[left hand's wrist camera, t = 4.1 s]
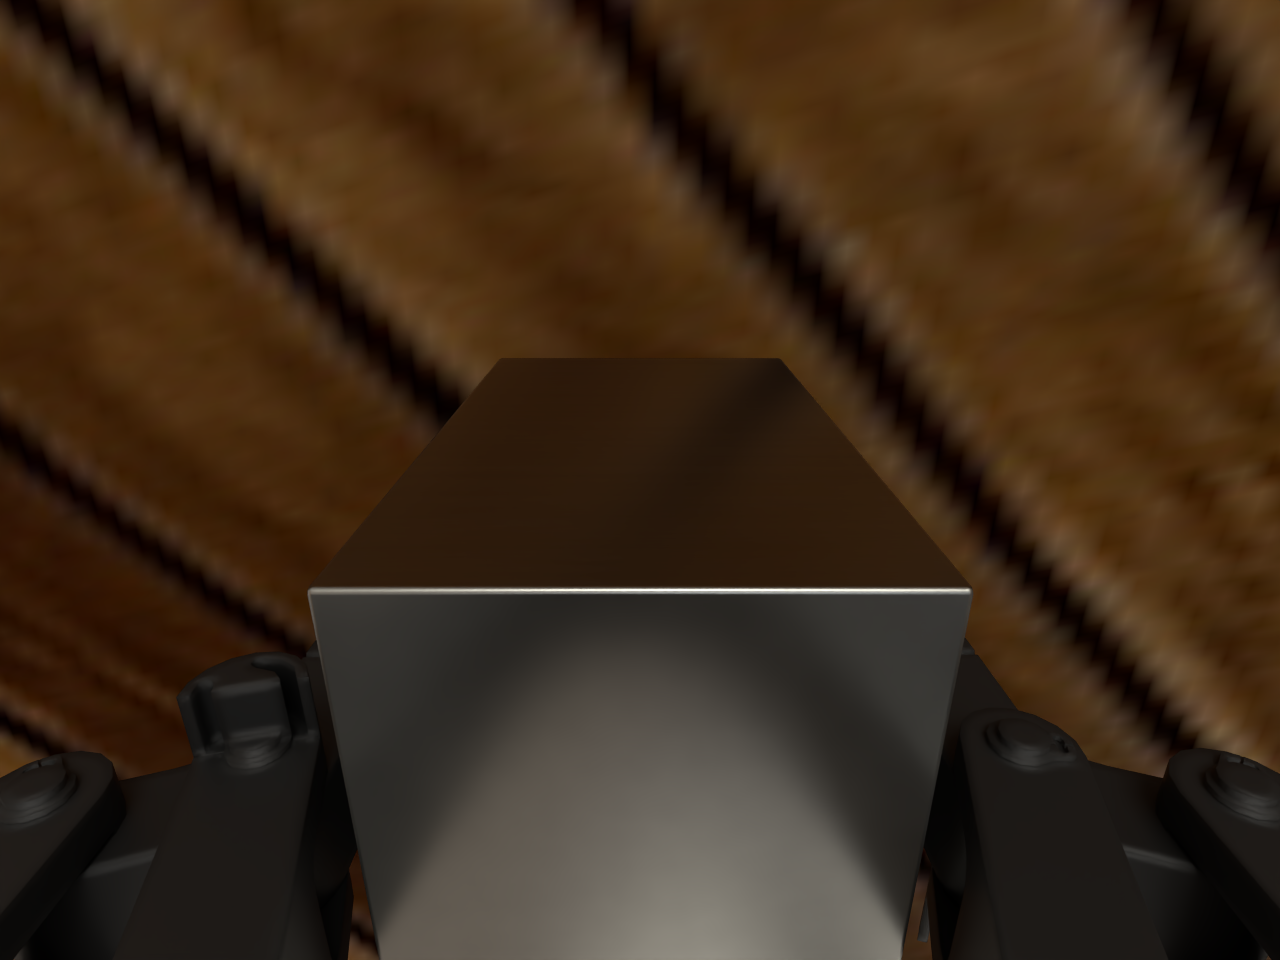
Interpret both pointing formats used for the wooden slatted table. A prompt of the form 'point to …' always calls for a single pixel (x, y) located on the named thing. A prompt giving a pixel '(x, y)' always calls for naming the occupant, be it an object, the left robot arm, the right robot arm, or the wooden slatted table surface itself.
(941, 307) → the wooden slatted table surface
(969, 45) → the wooden slatted table surface
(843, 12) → the wooden slatted table surface
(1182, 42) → the wooden slatted table surface
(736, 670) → the bar
